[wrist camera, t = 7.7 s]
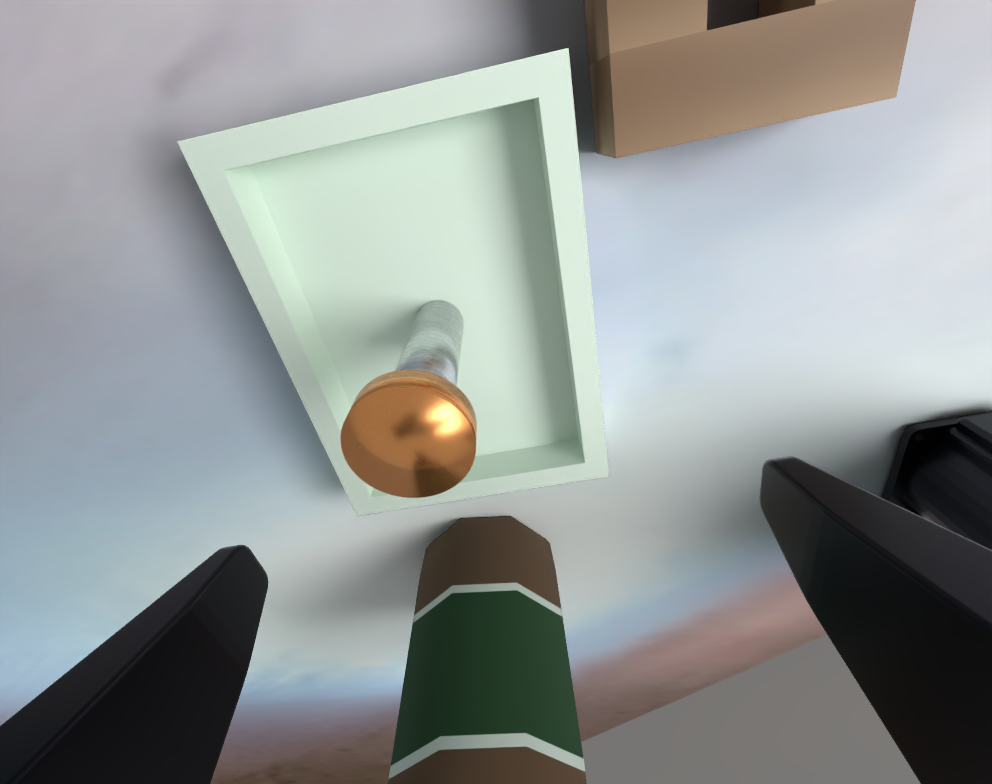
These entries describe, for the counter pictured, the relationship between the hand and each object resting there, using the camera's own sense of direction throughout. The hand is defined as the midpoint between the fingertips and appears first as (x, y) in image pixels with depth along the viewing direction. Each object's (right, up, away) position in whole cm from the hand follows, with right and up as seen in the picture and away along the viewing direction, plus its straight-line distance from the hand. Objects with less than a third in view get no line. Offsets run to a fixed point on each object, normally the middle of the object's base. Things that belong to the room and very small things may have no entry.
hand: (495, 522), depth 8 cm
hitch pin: (-2, +5, +11) cm, 12 cm away
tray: (-2, +5, +12) cm, 13 cm away
